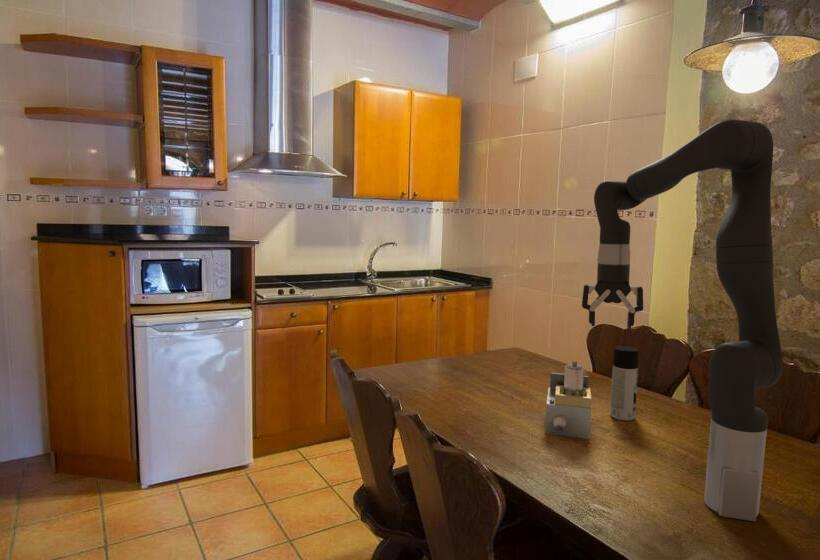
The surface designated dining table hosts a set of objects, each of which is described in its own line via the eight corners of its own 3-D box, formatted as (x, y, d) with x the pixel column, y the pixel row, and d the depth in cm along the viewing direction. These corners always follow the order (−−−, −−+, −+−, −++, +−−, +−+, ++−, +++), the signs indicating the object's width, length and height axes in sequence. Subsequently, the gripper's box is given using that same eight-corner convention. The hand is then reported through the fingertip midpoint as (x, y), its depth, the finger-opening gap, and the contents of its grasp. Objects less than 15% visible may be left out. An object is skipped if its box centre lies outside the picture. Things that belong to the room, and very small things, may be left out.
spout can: (582, 404, 137) (584, 364, 136) (563, 402, 139) (565, 362, 137) (581, 398, 142) (584, 359, 141) (563, 396, 143) (565, 358, 142)
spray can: (637, 422, 147) (642, 352, 144) (611, 420, 148) (616, 350, 146) (632, 413, 153) (637, 346, 151) (607, 411, 155) (611, 344, 152)
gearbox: (589, 443, 133) (592, 393, 131) (544, 438, 136) (546, 388, 134) (587, 419, 149) (590, 374, 147) (547, 414, 152) (549, 370, 150)
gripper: (584, 262, 130) (581, 327, 132) (647, 263, 126) (643, 331, 128) (582, 260, 137) (580, 322, 139) (642, 262, 134) (639, 325, 135)
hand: (611, 326), depth 133 cm, fingers open, 8 cm apart
